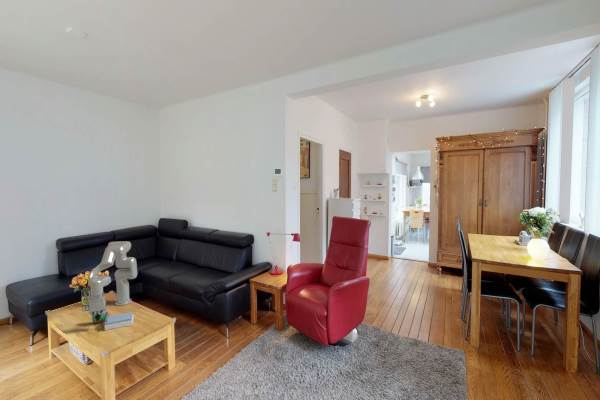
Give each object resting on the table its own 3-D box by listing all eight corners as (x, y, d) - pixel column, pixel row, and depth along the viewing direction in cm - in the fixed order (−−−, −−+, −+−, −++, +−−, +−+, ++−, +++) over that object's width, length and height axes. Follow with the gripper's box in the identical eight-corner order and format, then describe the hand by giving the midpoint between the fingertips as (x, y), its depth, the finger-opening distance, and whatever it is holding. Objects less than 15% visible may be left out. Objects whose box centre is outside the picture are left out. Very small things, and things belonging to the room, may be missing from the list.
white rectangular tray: (107, 323, 215) (107, 317, 215) (133, 318, 223) (133, 312, 222) (104, 330, 204) (104, 325, 204) (132, 325, 212) (131, 319, 211)
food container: (87, 326, 210) (87, 313, 209) (91, 322, 216) (90, 310, 215) (106, 324, 213) (105, 311, 212) (109, 320, 219) (108, 308, 218)
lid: (107, 317, 215) (107, 314, 214) (133, 312, 222) (133, 309, 222) (104, 324, 204) (104, 321, 203) (131, 319, 211) (131, 316, 211)
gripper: (109, 292, 212) (110, 315, 213) (85, 295, 205) (86, 319, 206) (108, 295, 205) (109, 319, 206) (83, 299, 199) (84, 324, 200)
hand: (98, 319), depth 206 cm, fingers closed
